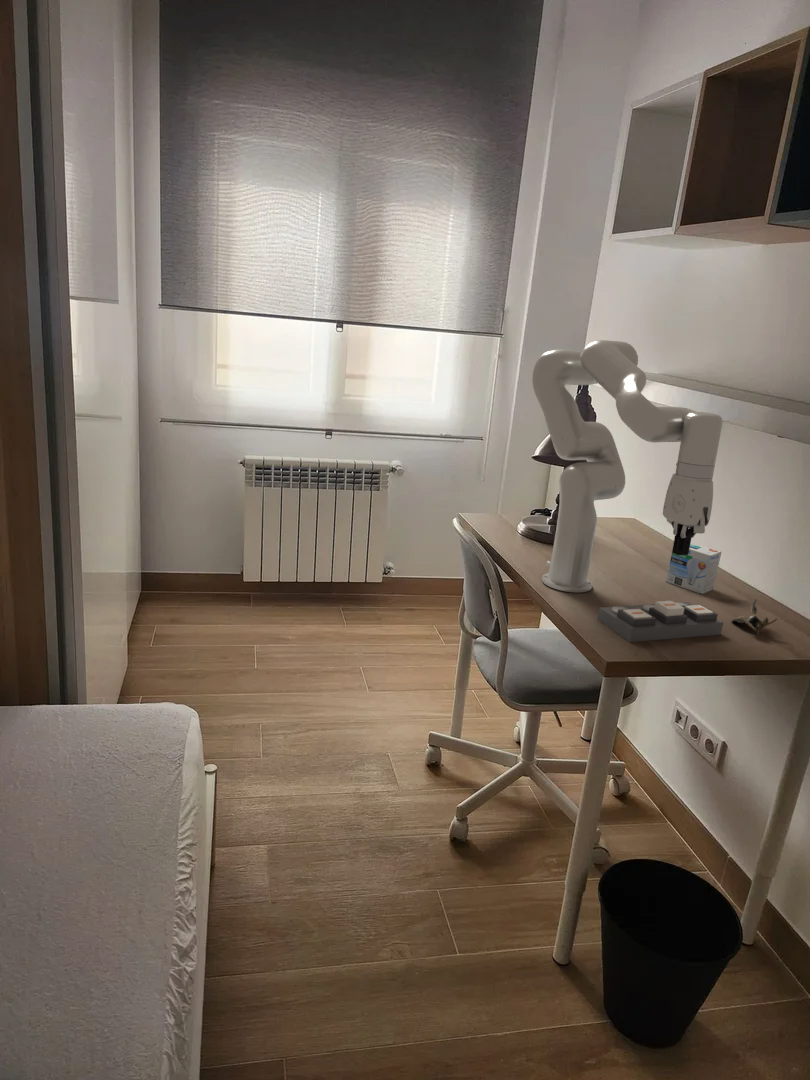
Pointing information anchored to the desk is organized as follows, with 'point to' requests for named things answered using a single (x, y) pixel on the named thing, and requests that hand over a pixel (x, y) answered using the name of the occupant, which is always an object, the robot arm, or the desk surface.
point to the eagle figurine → (754, 619)
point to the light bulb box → (694, 569)
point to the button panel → (659, 623)
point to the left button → (637, 613)
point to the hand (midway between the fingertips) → (680, 553)
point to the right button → (698, 609)
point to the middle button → (669, 608)
